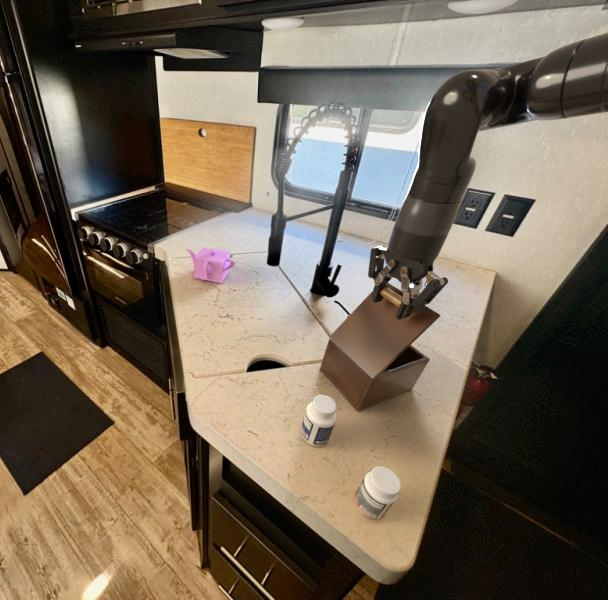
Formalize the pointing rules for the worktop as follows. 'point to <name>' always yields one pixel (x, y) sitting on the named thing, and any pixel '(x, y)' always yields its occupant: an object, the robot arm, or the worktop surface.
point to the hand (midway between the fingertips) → (388, 308)
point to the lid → (381, 331)
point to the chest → (361, 385)
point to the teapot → (211, 264)
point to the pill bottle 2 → (377, 492)
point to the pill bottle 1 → (319, 421)
